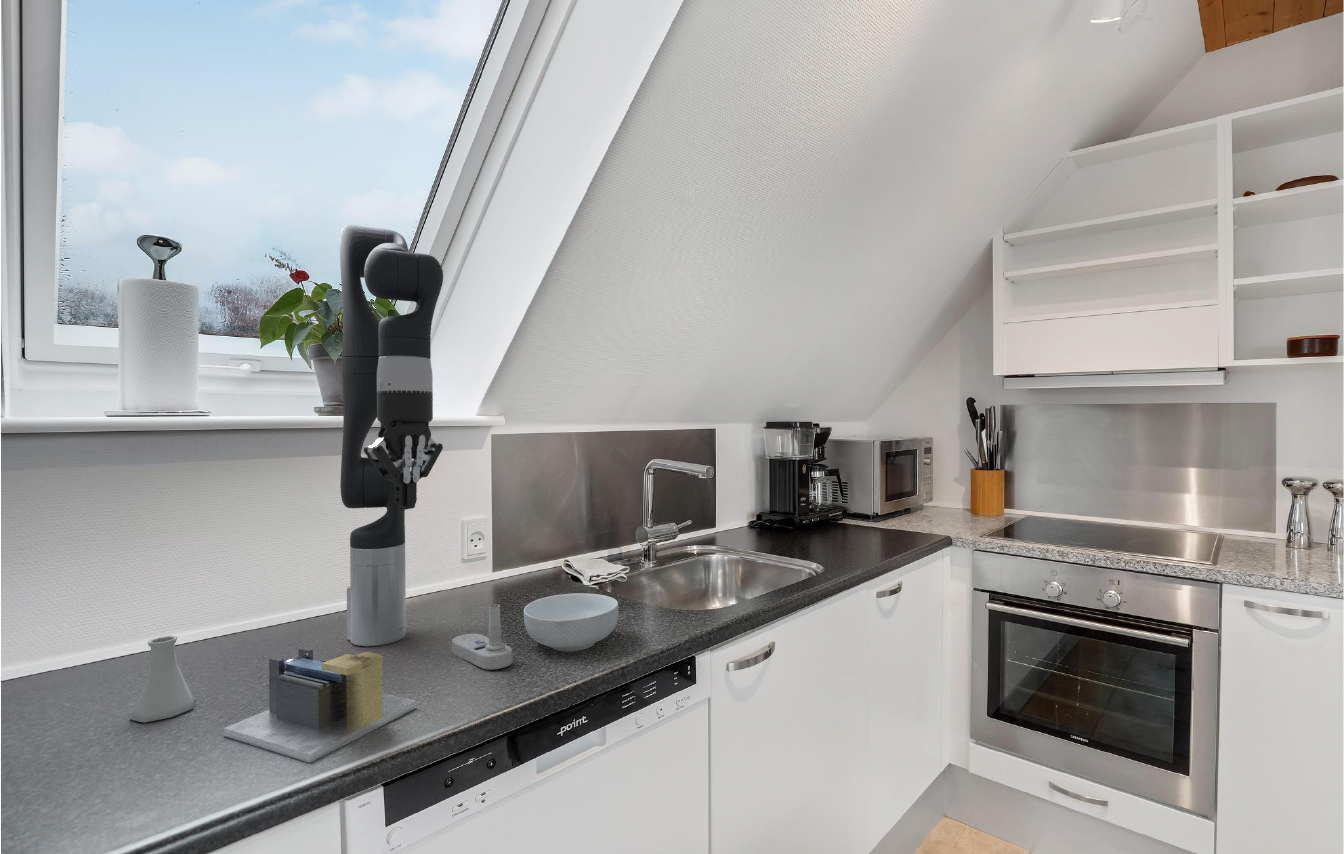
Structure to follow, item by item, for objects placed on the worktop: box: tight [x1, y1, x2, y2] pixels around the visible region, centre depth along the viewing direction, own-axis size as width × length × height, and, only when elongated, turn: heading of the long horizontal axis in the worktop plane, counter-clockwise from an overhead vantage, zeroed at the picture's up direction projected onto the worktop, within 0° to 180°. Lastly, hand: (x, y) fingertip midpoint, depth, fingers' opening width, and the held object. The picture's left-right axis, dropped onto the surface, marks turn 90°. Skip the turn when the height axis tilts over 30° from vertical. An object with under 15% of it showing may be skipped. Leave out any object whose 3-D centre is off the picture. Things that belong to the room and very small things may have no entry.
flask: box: [129, 634, 196, 723], centre depth 89 cm, size 7×7×10 cm
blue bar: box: [284, 655, 347, 682], centre depth 86 cm, size 12×3×1 cm, turn 65°
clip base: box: [223, 647, 417, 764], centre depth 86 cm, size 16×16×8 cm
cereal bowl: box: [523, 592, 619, 652], centre depth 116 cm, size 17×17×7 cm
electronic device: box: [451, 604, 514, 671], centre depth 109 cm, size 5×10×15 cm
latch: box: [322, 651, 384, 727], centre depth 83 cm, size 4×5×8 cm
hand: (405, 508), depth 95 cm, fingers closed
